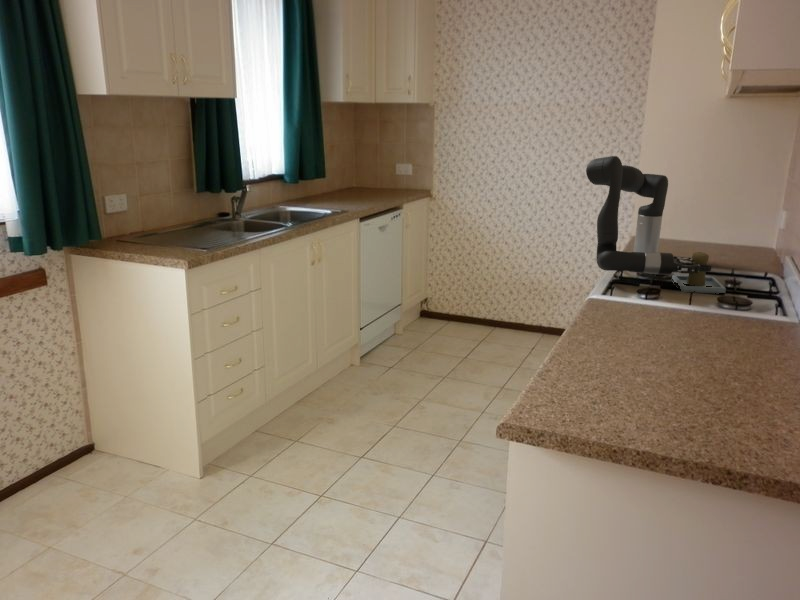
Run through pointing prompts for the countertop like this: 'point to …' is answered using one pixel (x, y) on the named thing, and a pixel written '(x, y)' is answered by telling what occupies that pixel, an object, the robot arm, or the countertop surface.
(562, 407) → the countertop surface
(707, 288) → the tray
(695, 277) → the cork
